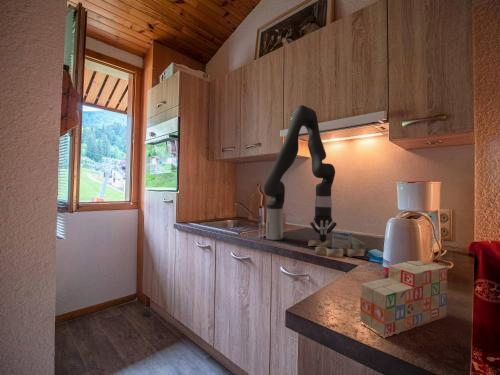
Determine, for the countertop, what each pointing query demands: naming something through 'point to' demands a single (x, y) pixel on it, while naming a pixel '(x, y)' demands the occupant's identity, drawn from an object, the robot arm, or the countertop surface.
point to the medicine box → (341, 240)
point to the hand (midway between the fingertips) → (322, 242)
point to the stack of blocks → (404, 296)
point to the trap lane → (355, 243)
